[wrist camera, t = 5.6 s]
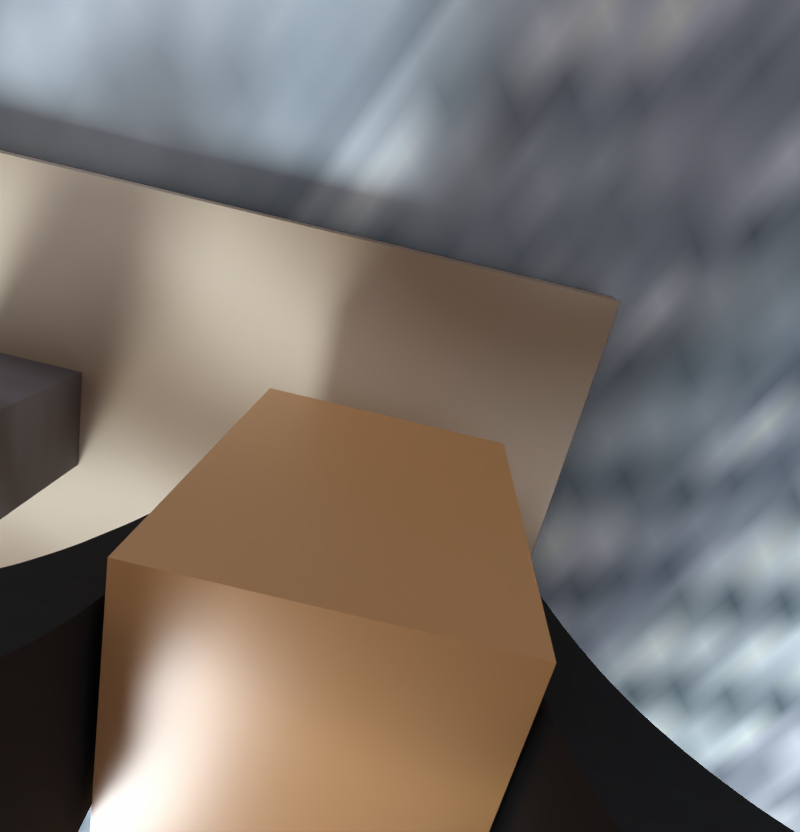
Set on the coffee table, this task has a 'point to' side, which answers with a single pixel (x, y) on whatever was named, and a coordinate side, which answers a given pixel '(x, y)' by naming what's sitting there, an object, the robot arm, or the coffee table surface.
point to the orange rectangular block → (321, 634)
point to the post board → (247, 346)
